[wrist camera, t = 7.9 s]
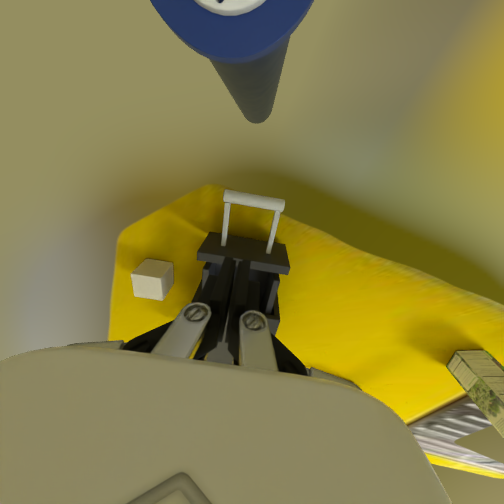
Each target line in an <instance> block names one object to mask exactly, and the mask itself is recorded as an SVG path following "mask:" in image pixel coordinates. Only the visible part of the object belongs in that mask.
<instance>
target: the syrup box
mask: <svg viewBox="0 0 504 504" xmlns="http://www.w3.org/2000/svg"><path fill="white" fill-rule="evenodd" d="M446 368H447V369H448V370H449V371H450V373H451V374H452V375H453V376H454V378H455V379H456V380H457V381H458V383H459V384H460V385H461V386H462V387H463V389H464V390H465V391H466V392H467V394H468V395H469V396H470V397H471V399H472V400H473V401H474V402H475V404H476V405H477V406H478V407H479V409H480V410H481V411H482V412H483V414H484V415H485V416H486V417H487V419H488V420H489V421H490V422H491V423H492V425H493V426H494V427H495V428H496V430H497V431H498V432H499V433H500V435H501V436H502V437H503V438H504V367H503V366H502V365H501V364H500V363H499V362H498V361H497V360H496V359H495V358H494V357H493V356H492V355H491V354H489V353H488V352H487V351H485V350H469V351H456V352H455V353H454V355H453V356H452V358H451V360H450V361H449V363H448V364H447V366H446Z"/></svg>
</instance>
